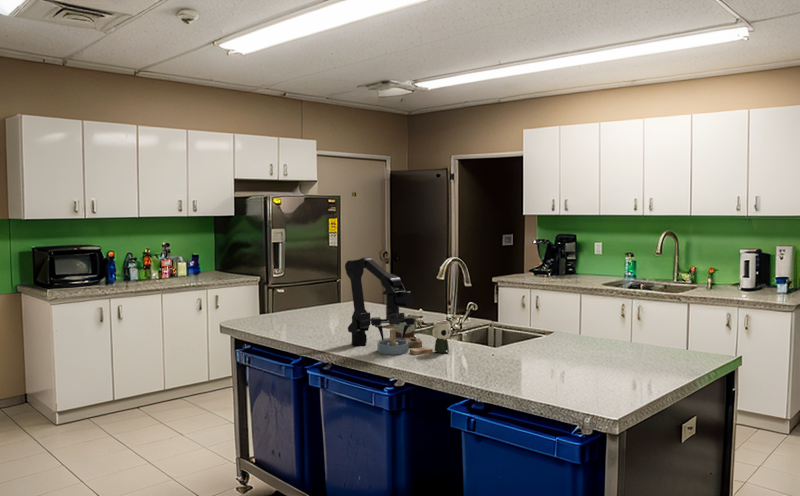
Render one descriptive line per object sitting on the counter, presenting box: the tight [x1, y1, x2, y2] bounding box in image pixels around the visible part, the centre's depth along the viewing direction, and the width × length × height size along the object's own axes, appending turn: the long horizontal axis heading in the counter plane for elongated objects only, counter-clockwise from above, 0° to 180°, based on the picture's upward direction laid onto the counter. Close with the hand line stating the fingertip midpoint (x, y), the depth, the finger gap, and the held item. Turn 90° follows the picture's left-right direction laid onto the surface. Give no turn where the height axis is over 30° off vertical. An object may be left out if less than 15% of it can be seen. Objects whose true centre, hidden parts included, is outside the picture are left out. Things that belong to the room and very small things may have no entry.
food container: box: [392, 315, 418, 339], centre depth 300 cm, size 12×6×10 cm, turn 84°
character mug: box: [431, 321, 452, 354], centre depth 266 cm, size 11×7×13 cm, turn 132°
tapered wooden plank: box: [409, 346, 434, 356], centre depth 266 cm, size 9×4×2 cm, turn 119°
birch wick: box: [389, 328, 397, 346], centre depth 268 cm, size 2×4×9 cm, turn 8°
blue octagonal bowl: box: [376, 338, 410, 356], centre depth 269 cm, size 13×13×4 cm
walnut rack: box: [404, 337, 423, 349], centre depth 281 cm, size 7×8×2 cm
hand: (392, 340), depth 268 cm, fingers open, 8 cm apart
